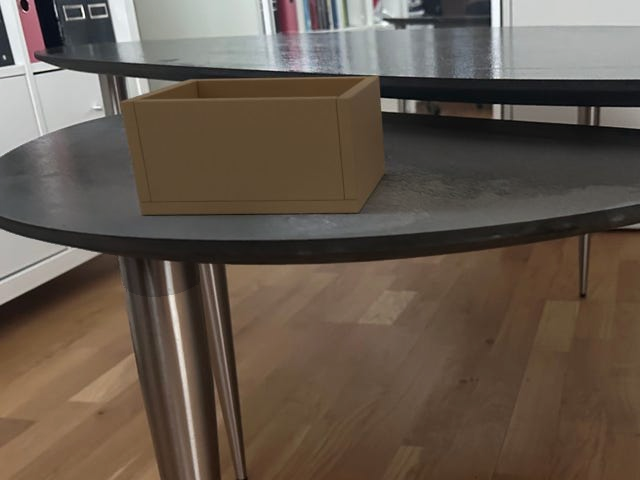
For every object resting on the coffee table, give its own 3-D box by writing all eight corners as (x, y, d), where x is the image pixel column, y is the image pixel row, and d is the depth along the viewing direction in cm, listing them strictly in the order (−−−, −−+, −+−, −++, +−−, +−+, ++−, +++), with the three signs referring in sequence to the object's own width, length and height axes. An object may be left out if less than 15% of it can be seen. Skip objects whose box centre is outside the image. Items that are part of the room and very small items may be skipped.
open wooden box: (140, 215, 53) (119, 101, 50) (203, 174, 63) (189, 79, 60) (358, 213, 52) (349, 97, 49) (385, 172, 62) (379, 76, 60)
